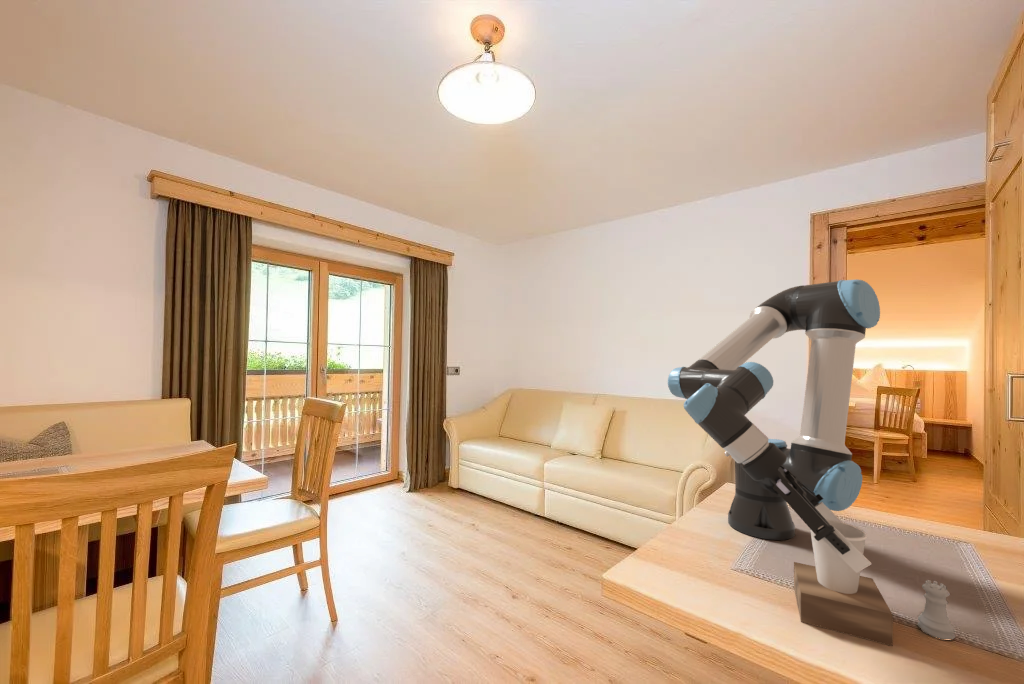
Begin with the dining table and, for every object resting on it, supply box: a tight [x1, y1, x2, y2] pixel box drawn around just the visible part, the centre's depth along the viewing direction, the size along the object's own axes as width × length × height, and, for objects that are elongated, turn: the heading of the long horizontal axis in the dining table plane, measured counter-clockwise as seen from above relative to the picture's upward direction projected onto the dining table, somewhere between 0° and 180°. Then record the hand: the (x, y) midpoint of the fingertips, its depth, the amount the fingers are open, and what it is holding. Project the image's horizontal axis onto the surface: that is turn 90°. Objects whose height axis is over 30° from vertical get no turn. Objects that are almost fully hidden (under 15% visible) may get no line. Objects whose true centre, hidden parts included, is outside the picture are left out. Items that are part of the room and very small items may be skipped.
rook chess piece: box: [917, 579, 956, 640], centre depth 70 cm, size 4×4×8 cm
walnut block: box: [793, 561, 894, 647], centre depth 75 cm, size 12×12×5 cm
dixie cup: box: [809, 519, 868, 594], centre depth 75 cm, size 8×8×10 cm
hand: (854, 550), depth 74 cm, fingers open, 13 cm apart
